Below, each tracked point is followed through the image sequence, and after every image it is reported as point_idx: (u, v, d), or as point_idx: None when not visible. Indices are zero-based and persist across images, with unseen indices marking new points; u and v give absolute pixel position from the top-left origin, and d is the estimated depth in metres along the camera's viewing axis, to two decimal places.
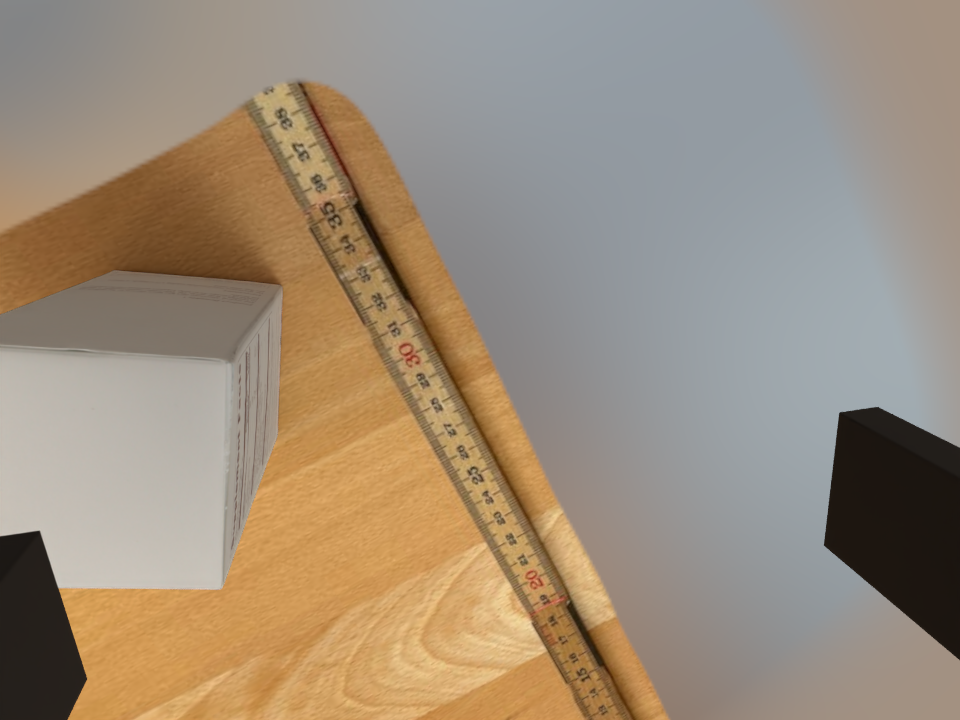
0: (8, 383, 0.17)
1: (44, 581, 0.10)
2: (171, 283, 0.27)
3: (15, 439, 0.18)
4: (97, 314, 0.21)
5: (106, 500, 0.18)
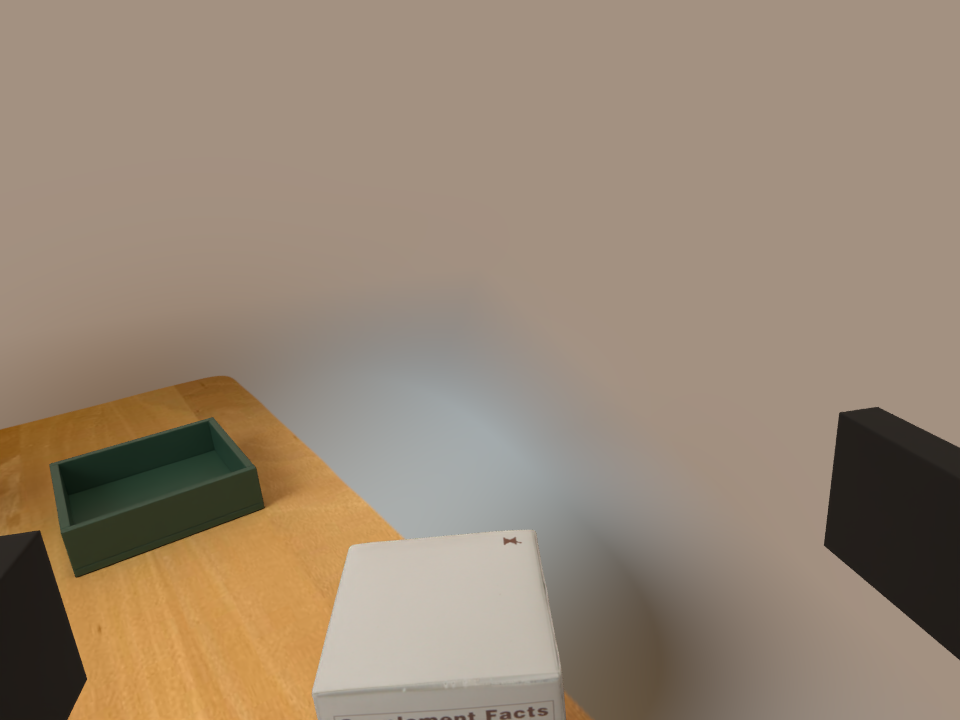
0: (512, 556, 0.24)
1: (44, 582, 0.10)
2: None
3: (469, 560, 0.24)
4: None
5: (419, 606, 0.22)
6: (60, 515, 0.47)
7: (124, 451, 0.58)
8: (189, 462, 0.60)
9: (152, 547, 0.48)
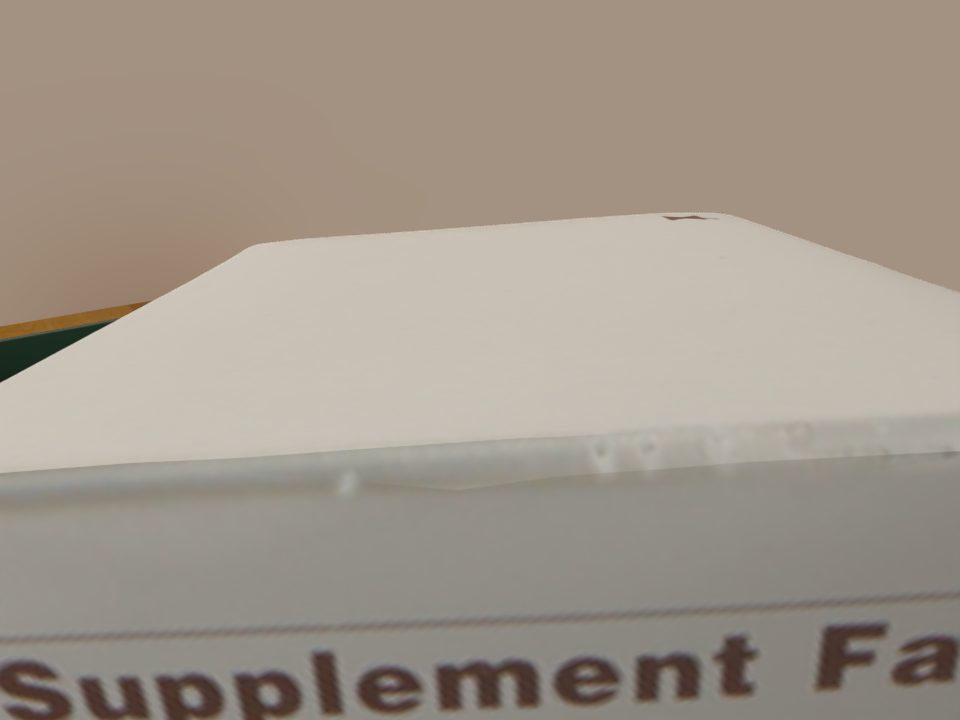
0: (709, 226, 0.08)
1: None
2: None
3: (584, 233, 0.08)
4: None
5: (434, 279, 0.06)
6: None
7: (27, 345, 0.42)
8: None
9: None
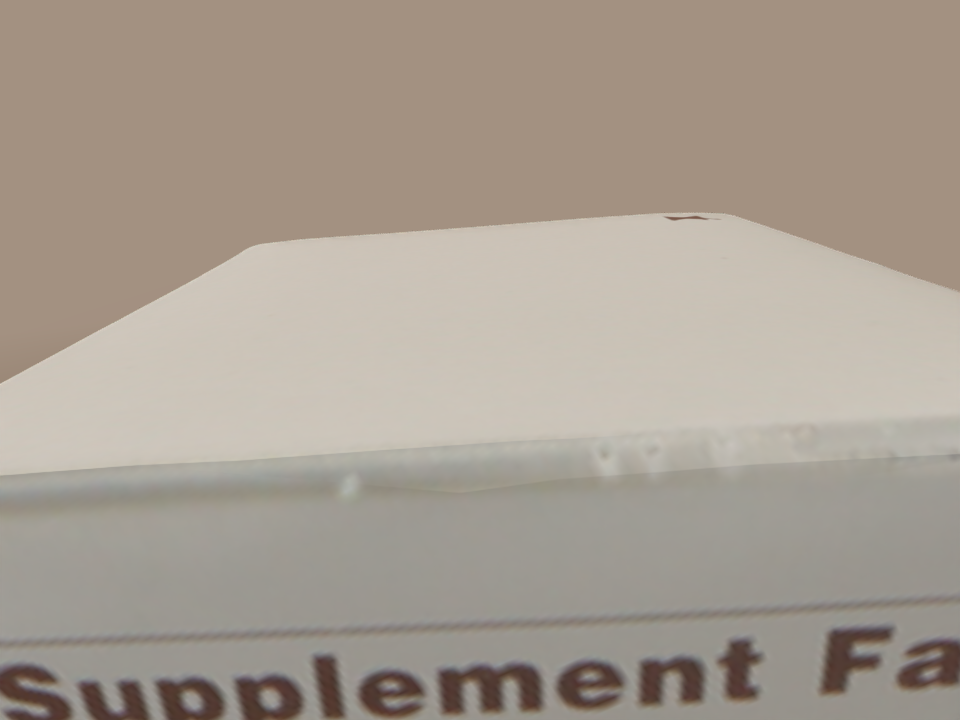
0: (710, 226, 0.08)
1: None
2: None
3: (585, 234, 0.08)
4: None
5: (435, 281, 0.06)
6: None
7: None
8: None
9: None
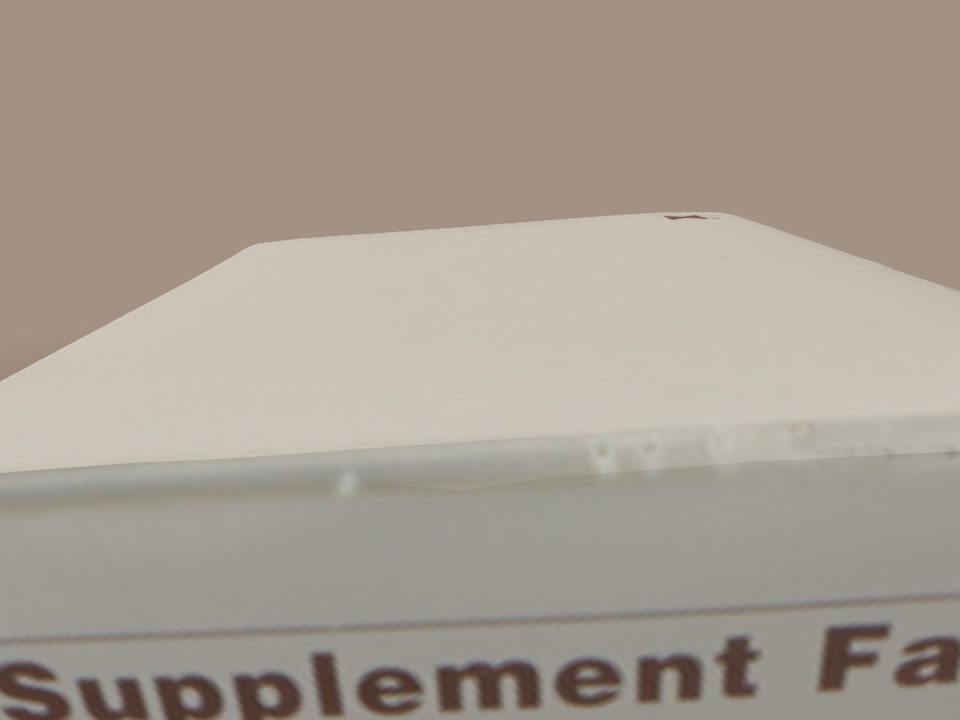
0: (709, 225, 0.08)
1: None
2: None
3: (585, 232, 0.08)
4: None
5: (434, 280, 0.06)
6: None
7: None
8: None
9: None
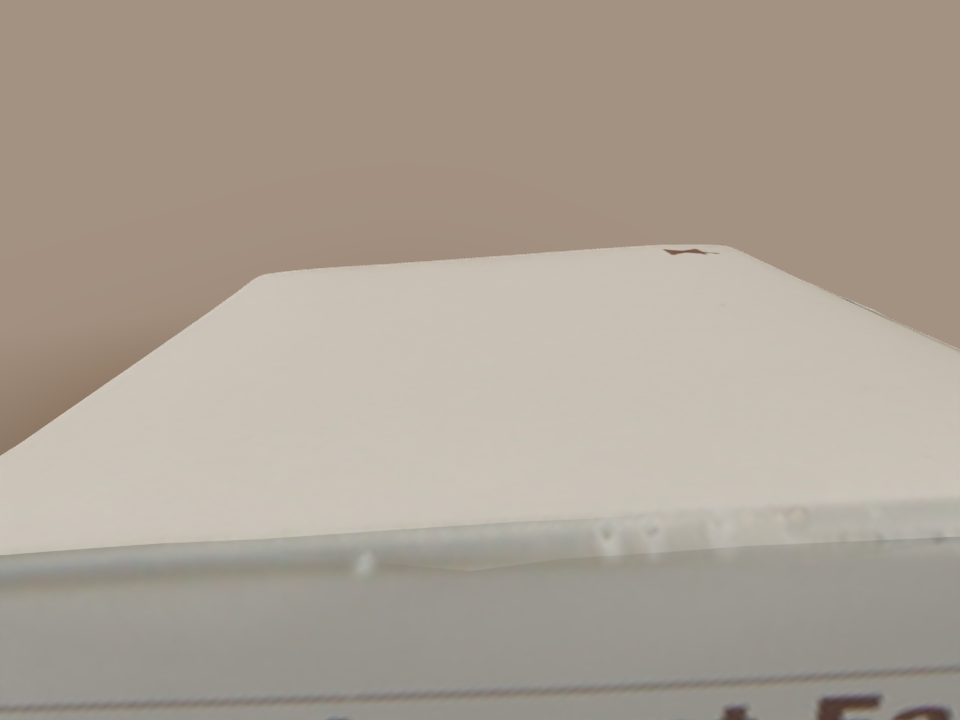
0: (709, 263, 0.08)
1: None
2: None
3: (586, 271, 0.08)
4: None
5: (442, 328, 0.06)
6: None
7: None
8: None
9: None
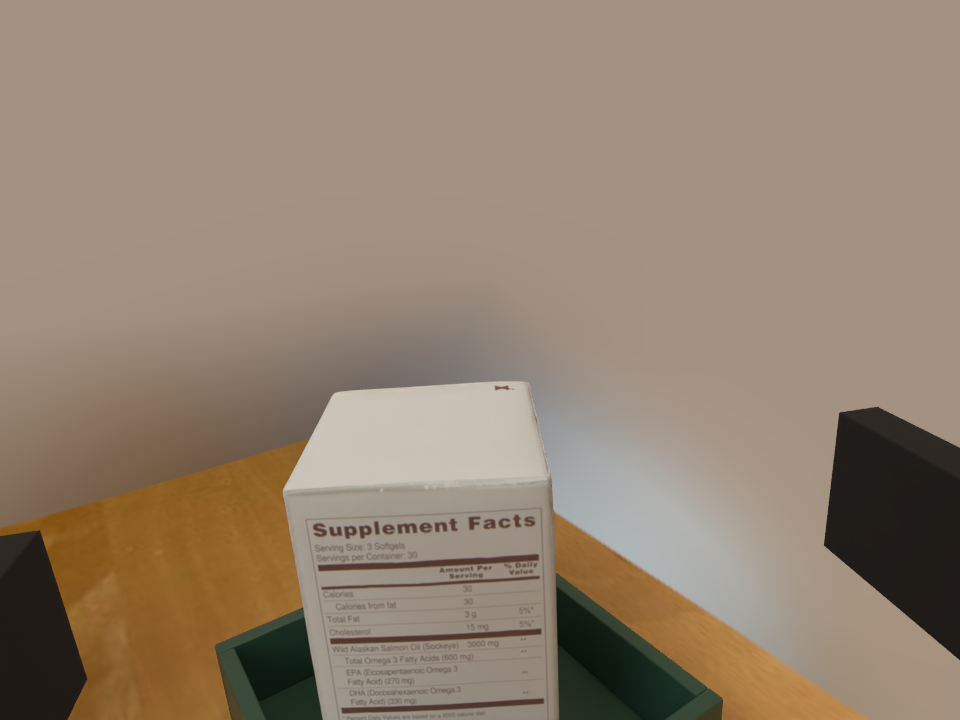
0: (503, 397, 0.22)
1: (45, 581, 0.10)
2: None
3: (458, 400, 0.22)
4: None
5: (402, 430, 0.20)
6: None
7: None
8: None
9: None
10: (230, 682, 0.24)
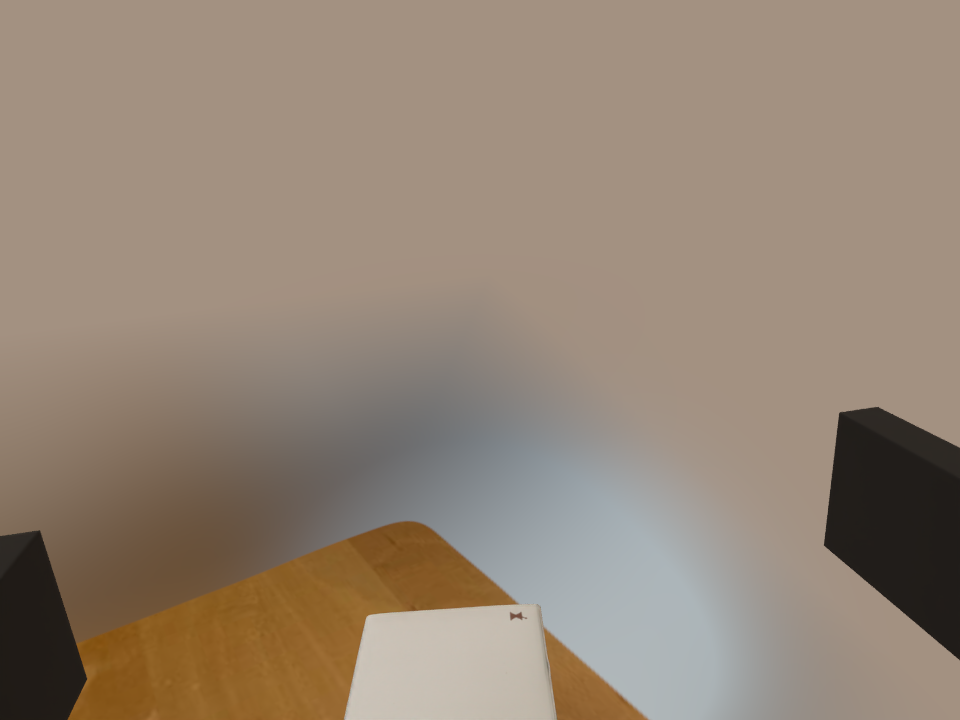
0: (518, 632, 0.26)
1: (45, 581, 0.10)
2: None
3: (478, 636, 0.26)
4: None
5: (431, 682, 0.23)
6: None
7: None
8: None
9: None
10: None
